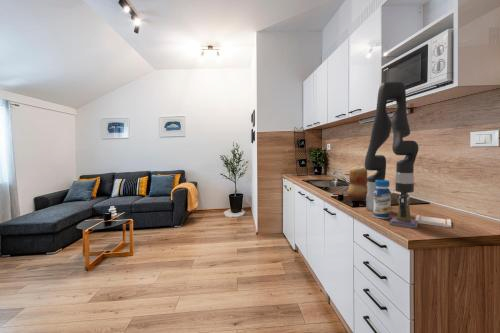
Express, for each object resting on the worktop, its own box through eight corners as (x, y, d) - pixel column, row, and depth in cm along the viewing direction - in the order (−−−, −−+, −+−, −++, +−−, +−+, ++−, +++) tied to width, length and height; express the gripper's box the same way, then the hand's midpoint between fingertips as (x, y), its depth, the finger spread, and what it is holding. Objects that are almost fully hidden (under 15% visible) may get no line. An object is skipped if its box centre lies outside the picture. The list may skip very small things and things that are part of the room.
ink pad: (389, 224, 117) (389, 220, 117) (392, 219, 125) (392, 216, 125) (416, 228, 110) (416, 224, 110) (418, 223, 118) (418, 219, 118)
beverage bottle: (389, 215, 133) (389, 179, 132) (392, 219, 125) (392, 181, 124) (372, 214, 136) (372, 179, 135) (373, 218, 128) (374, 181, 127)
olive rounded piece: (395, 220, 118) (395, 198, 117) (398, 217, 122) (398, 196, 121) (409, 222, 113) (410, 199, 113) (412, 219, 118) (413, 197, 117)
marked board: (414, 222, 120) (414, 220, 120) (416, 217, 129) (416, 215, 129) (451, 227, 111) (451, 225, 111) (450, 221, 120) (450, 219, 120)
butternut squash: (349, 203, 165) (349, 167, 164) (345, 199, 178) (346, 165, 177) (371, 203, 162) (371, 167, 161) (366, 199, 175) (366, 165, 174)
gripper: (397, 179, 124) (397, 212, 125) (393, 183, 113) (392, 218, 114) (415, 180, 120) (414, 214, 121) (412, 184, 108) (411, 221, 110)
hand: (403, 216), depth 117 cm, fingers closed on olive rounded piece, 4 cm apart
